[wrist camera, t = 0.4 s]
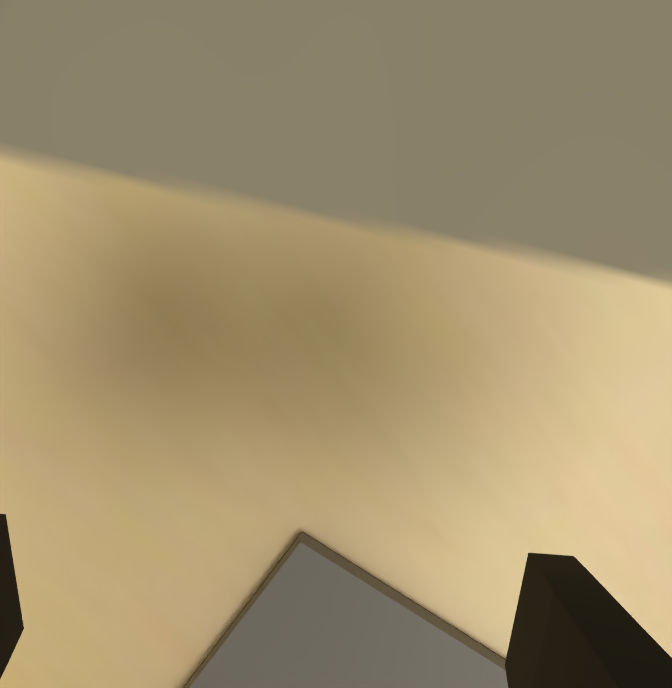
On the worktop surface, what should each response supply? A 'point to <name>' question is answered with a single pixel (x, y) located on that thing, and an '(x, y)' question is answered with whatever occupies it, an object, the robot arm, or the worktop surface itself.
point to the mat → (341, 635)
